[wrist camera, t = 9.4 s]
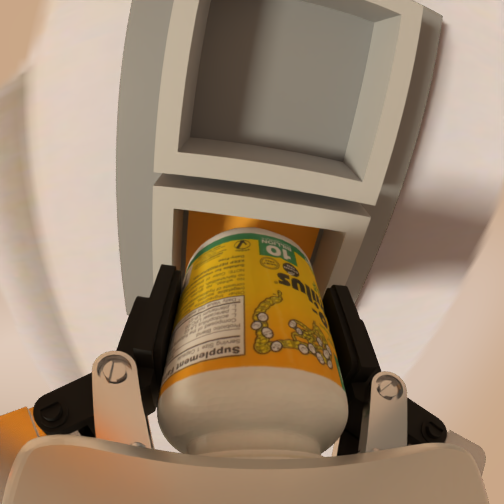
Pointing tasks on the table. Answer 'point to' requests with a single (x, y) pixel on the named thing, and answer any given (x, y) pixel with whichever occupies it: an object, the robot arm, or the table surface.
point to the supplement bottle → (251, 354)
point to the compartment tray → (267, 128)
